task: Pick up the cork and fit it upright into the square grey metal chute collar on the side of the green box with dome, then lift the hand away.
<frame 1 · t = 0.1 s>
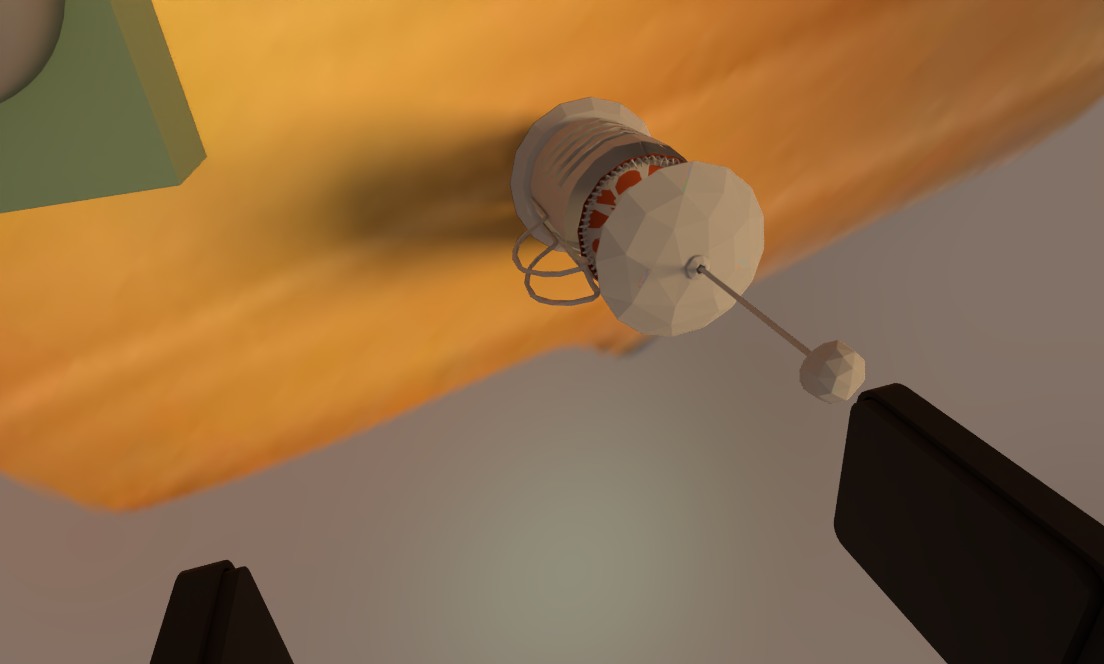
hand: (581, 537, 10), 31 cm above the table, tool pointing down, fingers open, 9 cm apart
french press: (573, 185, 40), on the table
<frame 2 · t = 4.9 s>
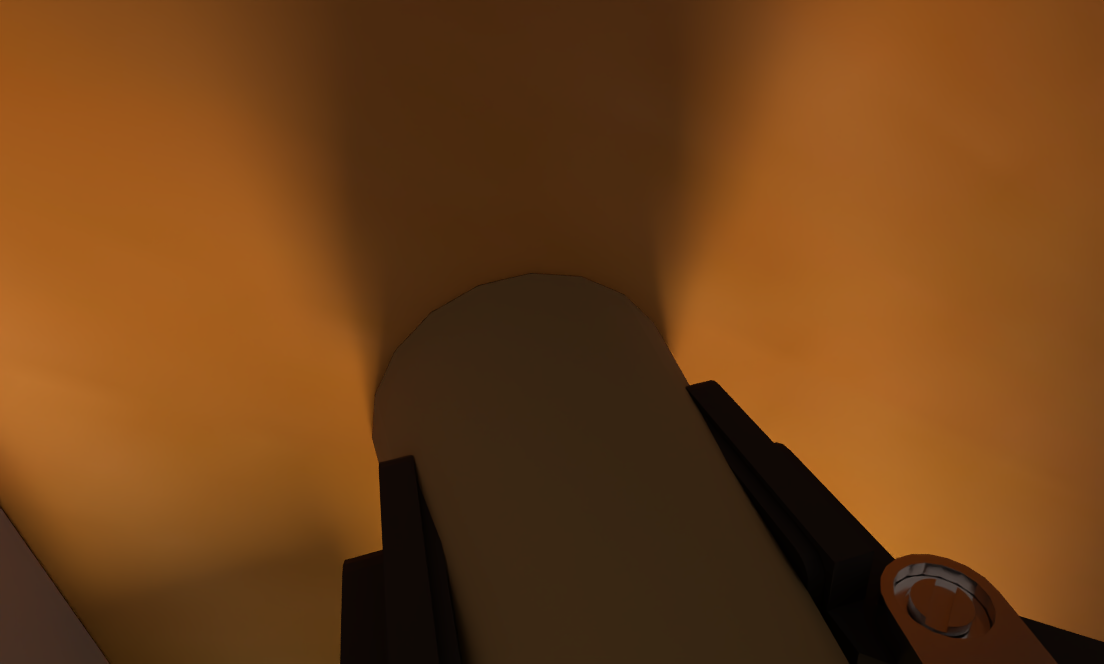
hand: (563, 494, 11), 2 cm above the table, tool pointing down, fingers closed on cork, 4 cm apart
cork: (528, 410, 13), on the table, touching gripper
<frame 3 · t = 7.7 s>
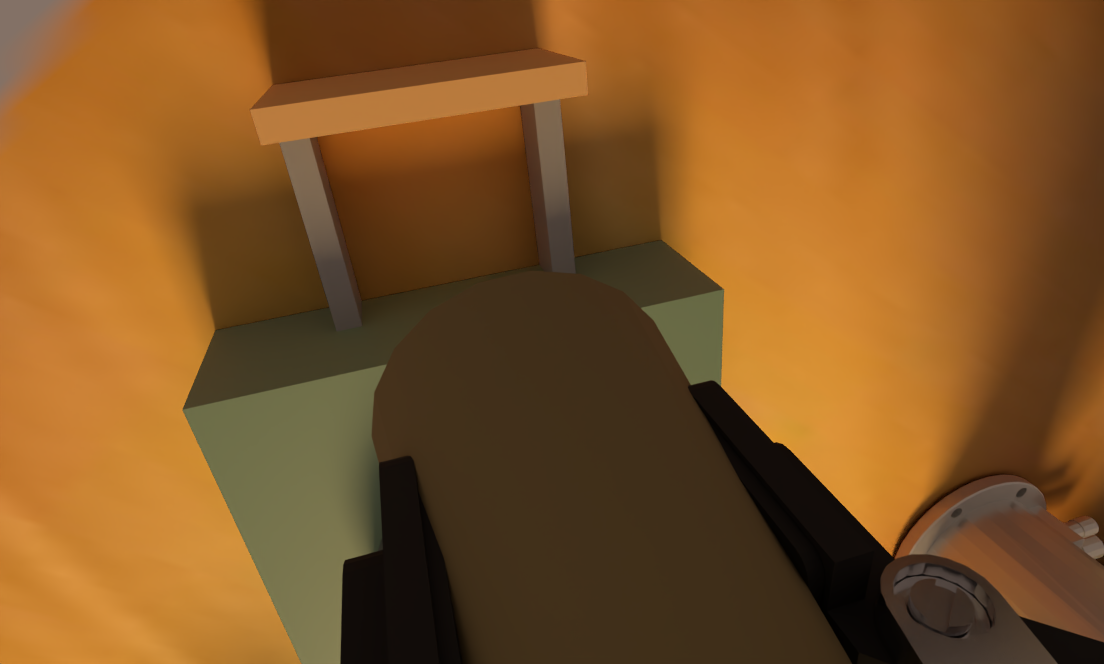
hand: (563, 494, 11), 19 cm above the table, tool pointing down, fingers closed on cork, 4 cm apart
green box with dome: (483, 441, 33), on the table
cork: (527, 408, 13), point 16 cm above the table, touching gripper
when the fingers open (4 cm above the table, at t = 10.8 s): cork stays where it is, resting in green box with dome.
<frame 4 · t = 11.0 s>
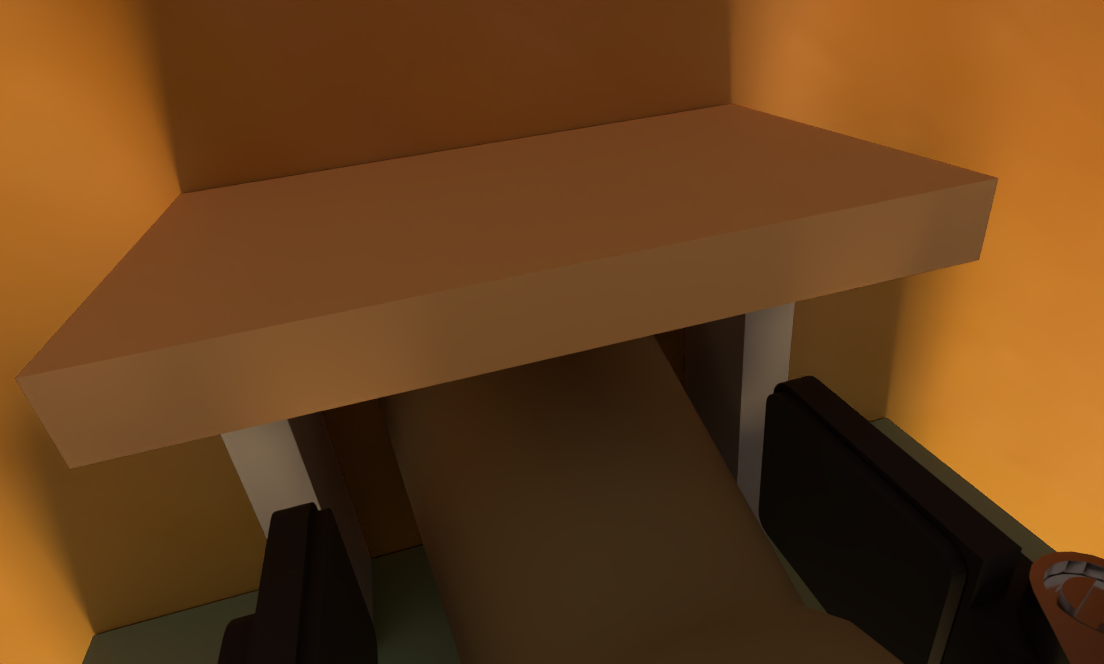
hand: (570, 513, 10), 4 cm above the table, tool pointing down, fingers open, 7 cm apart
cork: (518, 375, 14), resting in green box with dome
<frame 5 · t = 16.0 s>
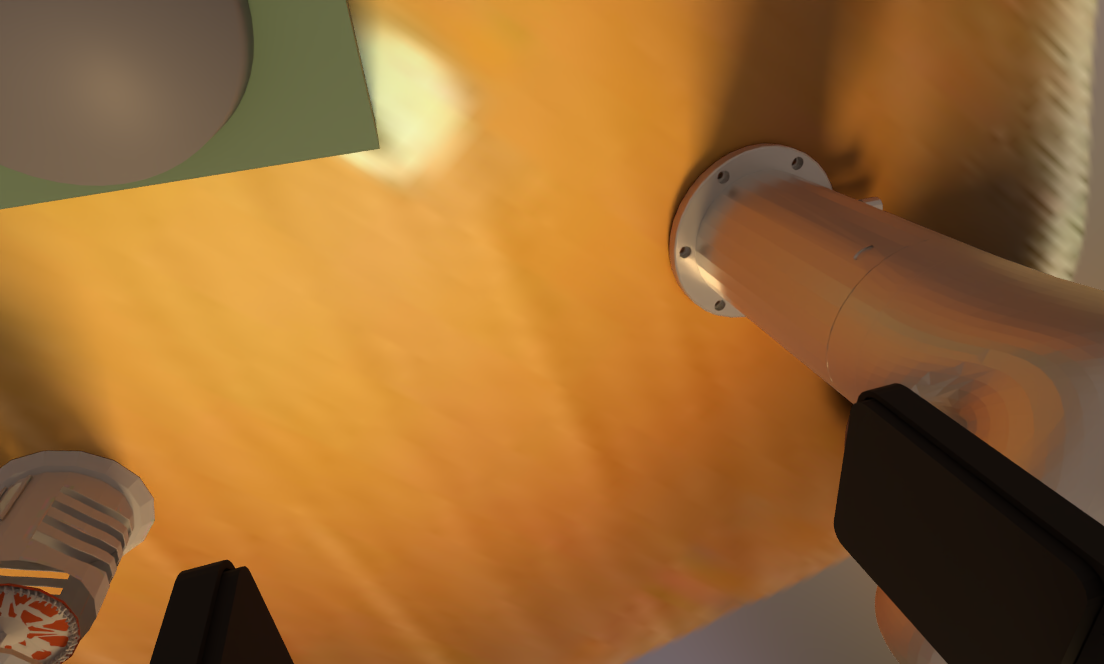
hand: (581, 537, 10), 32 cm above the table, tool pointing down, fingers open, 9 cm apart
french press: (61, 500, 42), on the table
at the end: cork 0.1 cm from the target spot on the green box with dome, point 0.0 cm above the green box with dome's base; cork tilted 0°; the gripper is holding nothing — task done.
